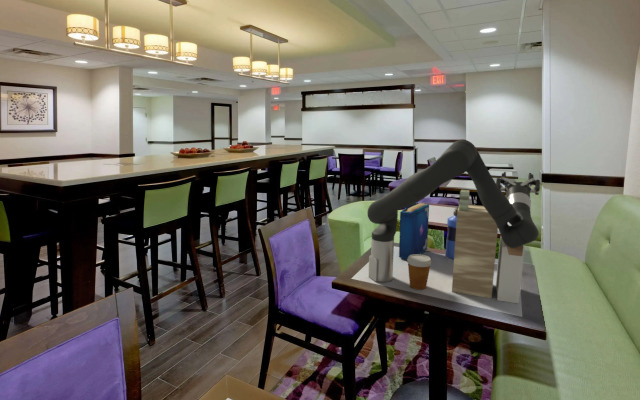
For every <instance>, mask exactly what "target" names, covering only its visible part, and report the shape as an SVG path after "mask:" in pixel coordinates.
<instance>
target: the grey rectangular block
mask: <svg viewBox="0 0 640 400" xmlns="http://www.w3.org/2000/svg"><path fill="white" fill-rule="evenodd" d="M524 246H525V245H523V253H522V256H515V255H509V254H508V249H507V245H506V244H505V243H504V242H503V240H502V237H501V235H500V237H499V248H498V249H499V250H498V258H497V268H496V280H495V281H496V282H495V289H496V299H497V301H502V302H507V303H513V304H520V297H521V294H520V293H521V286H522V278H523V267H524V259H525V247H524Z"/></svg>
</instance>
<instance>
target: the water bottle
mask: <svg viewBox="0 0 640 400" xmlns="http://www.w3.org/2000/svg"><path fill="white" fill-rule="evenodd" d="M458 208H459V206H456V207H454V209H453V214H452V216H449V217H447V221H446V222H447V224H446V225H447V234H446V235H447V237H446V244H445V257H446V258H447V257H448V258H447V259H450V258H451V259H450V260H454V253H455V239H456V224H457V211H458Z"/></svg>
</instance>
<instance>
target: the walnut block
mask: <svg viewBox="0 0 640 400" xmlns="http://www.w3.org/2000/svg"><path fill="white" fill-rule="evenodd" d="M523 246H524V245H522V246H519V247H516V248H511V247H509V246H507V249H508V254H509V255H515V256H522V253H523Z"/></svg>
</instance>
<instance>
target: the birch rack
mask: <svg viewBox="0 0 640 400" xmlns="http://www.w3.org/2000/svg"><path fill="white" fill-rule="evenodd" d="M458 207H459V208H458V211H457V224H456V239H455V253H454V259H453V269H452V270H453V271H452V283H451V292H452V293H456V292H457V293H458V294H463V295H468V296H476V297H480V298H488V299H492V297H493V287H494V285H493V284H494V275H495V266H496V265H495V264H496V263H495V262H496V252H497V243H498V241H497V240H498V233H499V229H498V227H497V225H496V223H495V221H494V219H493V218H492V217H491V215H490V214H489V213H488V211H487V210H486V209H485V207H484V206H483V205H474V204H473V205H471V204H470V190H467V189H461V190H460V191H459V204H458Z"/></svg>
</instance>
